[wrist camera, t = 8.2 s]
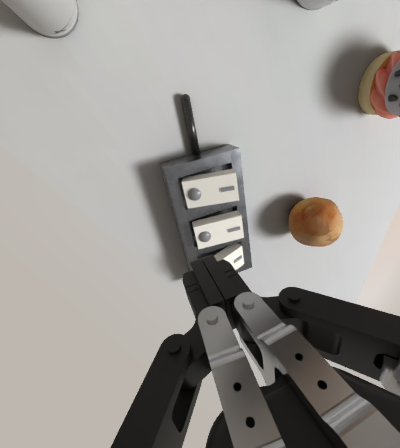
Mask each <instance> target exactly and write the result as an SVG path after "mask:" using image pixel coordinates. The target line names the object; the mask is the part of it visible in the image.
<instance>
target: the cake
mask: <svg viewBox="0 0 400 448" xmlns="http://www.w3.org/2000/svg"><path fill="white" fill-rule="evenodd" d="M358 101H359V105H360V108H361V109H362V110H363V112H365V113H367V114H374V115H379V116H381V117H384V118H387V119H391V118H395V117H400V51H394V52H388V53H384V54H382V55H380V56H378V57H377V58H376V59H374V60H373V61H372V62H371V63H370V65H369V66H368V67H367V69H366V70H365V72H364V74H363V76H362V79H361V81H360V85H359V89H358Z"/></svg>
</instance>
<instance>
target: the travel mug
mask: <svg viewBox="0 0 400 448" xmlns="http://www.w3.org/2000/svg"><path fill="white" fill-rule="evenodd" d="M1 1H3V2H4V3H5V4H6V5H7V6H8V7H9V8H10V9H11V10H12V11H13V12H15V13H16V14H17V15H18V16H19V17H20V18H21V19H22V20H23V21H24V22H25V23H27V24H28V25H29V26H30V27H31V28H32V29H33V30H35V31H36V32H38V33H39V34H41V35H44V36H46V37H50V38H62V37H65V36H67V35H69V34H70V33H71V32H72V31H73V30H74V28H75V27H76V24H77V21H78V5H77V0H1Z"/></svg>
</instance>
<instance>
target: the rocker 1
mask: <svg viewBox="0 0 400 448" xmlns="http://www.w3.org/2000/svg"><path fill="white" fill-rule="evenodd" d="M182 186H183V190H184V194H185V199H186V203H187V207H188V209H189V208H195V207H201V206H208V205H214V204H220V203H227V202H233V201H239V194H238V185H237V177H236V171H235V169H229V170H223V171H218V172H212V173H206V174H200V175H195V176H189V177H183V179H182Z"/></svg>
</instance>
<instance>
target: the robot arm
mask: <svg viewBox="0 0 400 448" xmlns="http://www.w3.org/2000/svg"><path fill="white" fill-rule="evenodd" d="M335 1H337V0H297V2H298V3H299V4H300V5H301V6H302V7H304V8H306V9H310V10H316V9H320V8H322V7H324V6H326V5H328V4H331V3H333V2H335ZM189 265H190V269H191V271H190V272H188V273H185V274H184V276H183V284H184V287H185V290H186V293H187V297H188V300H189V302H190V305H191V307H192V310H193V312H194V315H195V318H196V321H195V324H194V326H193V327H192V328H191V329H190V330H189V331H188V332H187V333H186V334H185V335H182V334H174V335H171V336H169V337H168V338H166V339H165V340H164V341H163V343H162V344H161V346H160V348H159V350H158V352H157V355H156V356H155V358H154V361H153V362H152V364H151V366H150V368H149V371H148V373H147V375H146V377H145V379H144V381H143V383H142V385H141V387H140V389H139V391H138V393H137V395H136V397H135V399H134V401H133V403H132V405H131V407H130V409H129V411H128V413H127V415H126V417H125V419H124V421H123V424H122V425H121V427H120V429H119V432H118V434H117V435H116V438H115V440H114V442H113V444H112V446H111V448H182V445H183V442H184V438H185V435H186V432H187V429H188V426H189V422H190V419H191V416H192V413H193V409H194V406H195V403H196V400H197V396H198V393H199V390H200V387H201V383H202V379H203V378H205V377H206V376H207V374H209V373H210V372H211V371H212V373H213V376H214V380H215V383H216V387H217V391H218V394H219V397H220V401H221V405H222V408H223V411H222V412H221V413H220V414H219V416H218V417H217V418H216V420H215V422H214V423H213V426H212V428H211V430H210V433H209V436H208V439H207V444H206V448H400V316H396V315H393V314H389V313H385V312H382V311H378V310H375V309H371V308H368V307H364V306H361V305H357V304H354V303H350V302H347V301H343V300H339V299H336V298H332V297H329V296H325V295H322V294H318V293H315V292H311V291H308V290H304V289H300V288H297V287H287V288H285V289H283V290H282V291H281V292H280V293H279V296H276V297H260V296H259V295H257V294H255V293H253V292H251V291H250V289H249V288H248V286H247V285H246V284H245V282H244V281H243V280H242V278H241V277H240V276H239V274H238V273H237V271H236V270H235V269H234V267H233V266H232V265H231V263H230V262H228V261H226V260H224V259H222V260H220V261H217V260H216V258H215V257H214V255H213V254H211V255H209V256H206V257H203V258H201V259H198V260H195V261H192V262H190V263H189ZM235 328H236V329H237V330H238V332H239V335H240V340H241V342H242V344H243V345H244V347H245V349H246V350H247V352H248V353H249V355H250V356H251V358H252V359H253V361H254V363H255V364H256V366H257V367H258V369H259V370H260V372H261V373H262V375H263V378H264V380H265V383H266V385H267V386H263V387H259V385H258V383H257V381H256V378H255V376H254V373H253V371H252V369H251V366H250V364H249V362H248V360H247V357H246V355H245V353H244V351H243V349H242V348H240V346H239V344H238V341H237V339H236V337H235V334H234V332H233V329H235ZM324 358H325V359H327V360H330V361H332V362H335V363H337V364H340V365H342V366H344V367H347V368H349V369H352V370H354V371H357V372H359V373H361V374H364V375H366V376H369V377H371V378H373V379H376V380H378V381H381V383H382V385H383V386H384V388H385V389H386V390H385V389H383V388H380V387H378V386H376V385H374V384H372V383H369V382H368V381H365V380H363V379H361V378H359V377H357V376H354V375H352V374H350V373H348V372H346V371H343V370H341V369H338V368H335V367H332V366H330V365H329V363H328V362H327V361H326V360H325V359H324Z"/></svg>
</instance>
